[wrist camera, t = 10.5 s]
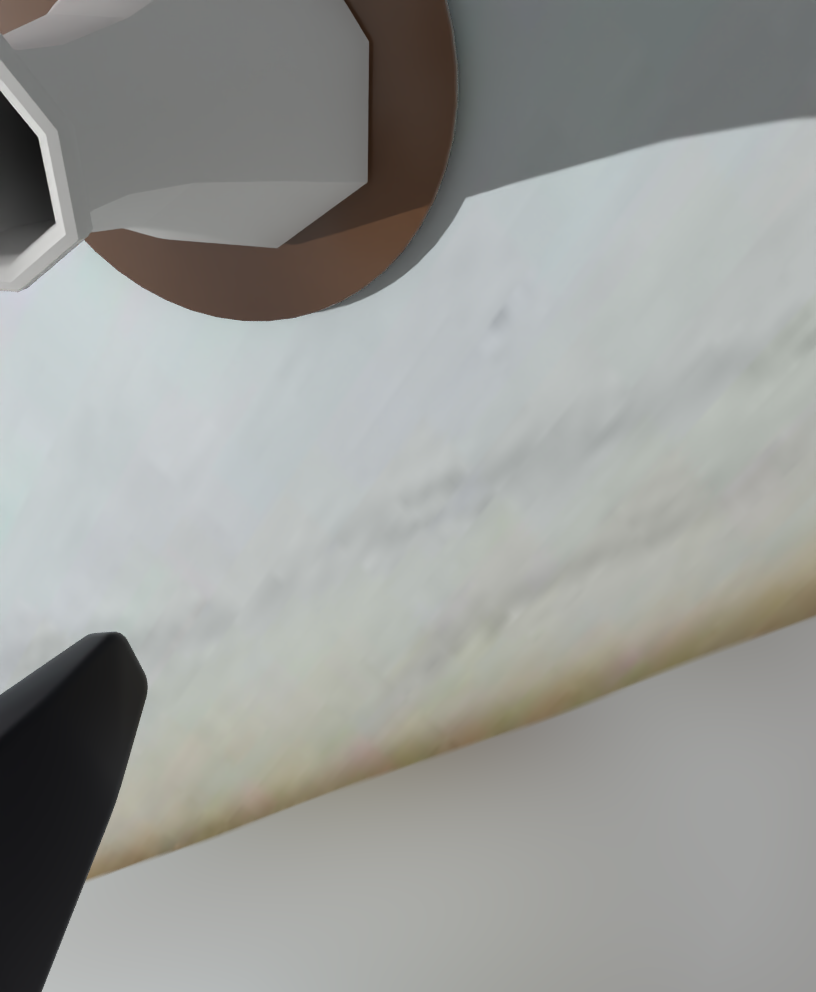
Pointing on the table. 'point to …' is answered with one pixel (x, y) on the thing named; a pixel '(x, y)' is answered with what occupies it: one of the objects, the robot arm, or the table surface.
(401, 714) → the table surface
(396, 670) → the table surface
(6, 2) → the coaster
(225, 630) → the table surface
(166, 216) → the flask
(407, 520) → the table surface
